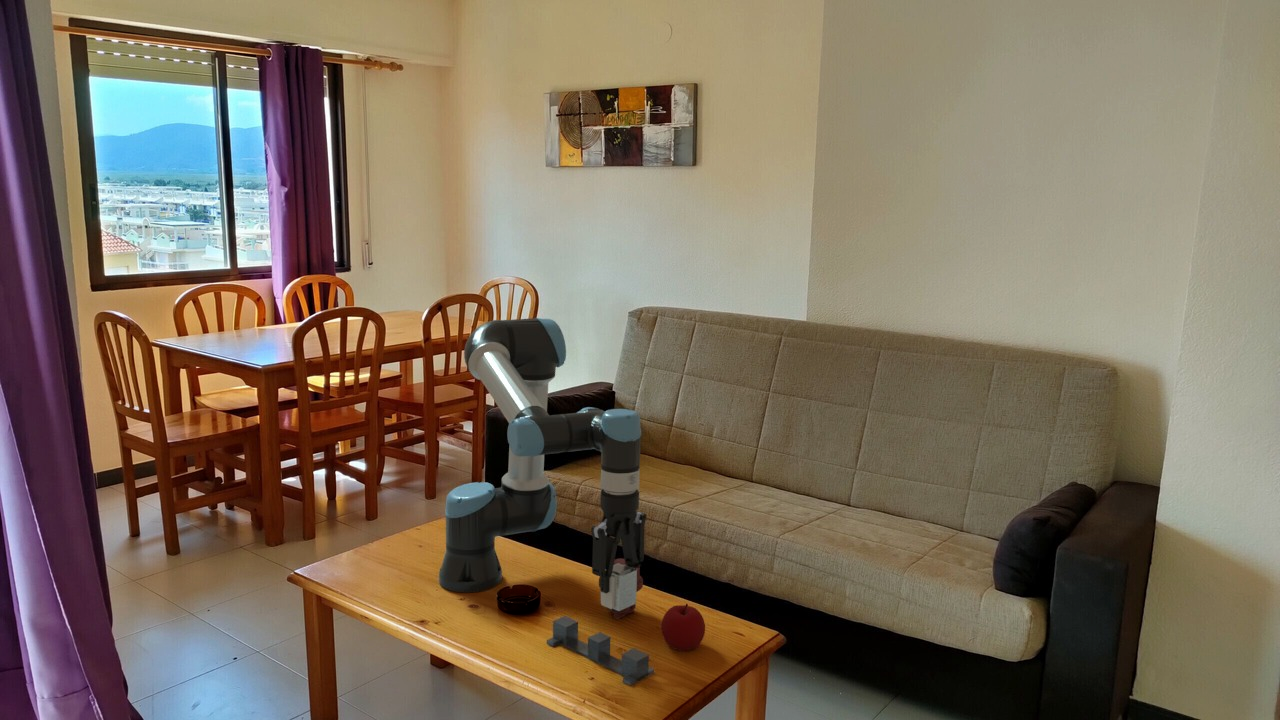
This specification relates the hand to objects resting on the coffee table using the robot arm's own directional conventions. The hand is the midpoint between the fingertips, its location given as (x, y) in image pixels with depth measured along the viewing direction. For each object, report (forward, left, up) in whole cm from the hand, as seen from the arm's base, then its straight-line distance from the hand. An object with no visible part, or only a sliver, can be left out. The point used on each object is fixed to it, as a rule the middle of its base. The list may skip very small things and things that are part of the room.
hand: (617, 601), depth 180 cm
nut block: (0, 0, 0) cm, 0 cm away
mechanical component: (-16, +18, -14) cm, 28 cm away
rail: (-5, 0, -14) cm, 15 cm away
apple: (+4, +16, -14) cm, 22 cm away
